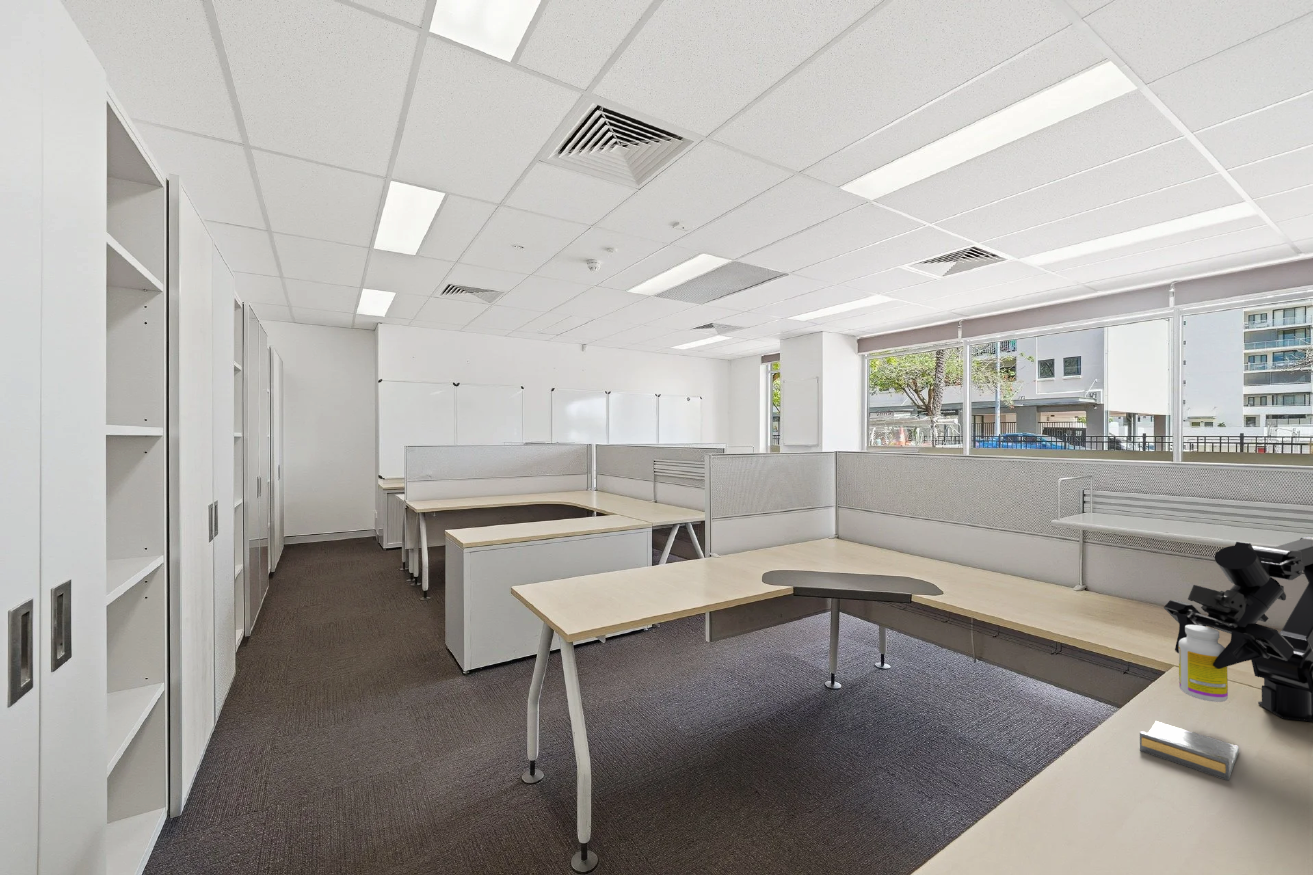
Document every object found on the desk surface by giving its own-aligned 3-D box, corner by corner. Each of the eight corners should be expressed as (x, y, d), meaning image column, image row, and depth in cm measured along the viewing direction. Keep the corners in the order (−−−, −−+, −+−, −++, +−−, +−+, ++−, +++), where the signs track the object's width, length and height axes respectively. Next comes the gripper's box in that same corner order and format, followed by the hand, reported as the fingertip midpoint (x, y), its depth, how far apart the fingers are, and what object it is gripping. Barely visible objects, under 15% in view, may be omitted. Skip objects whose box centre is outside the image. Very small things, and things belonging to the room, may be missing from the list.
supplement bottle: (1238, 704, 101) (1237, 635, 101) (1196, 701, 102) (1195, 633, 102) (1209, 688, 108) (1208, 623, 108) (1170, 685, 109) (1169, 621, 109)
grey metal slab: (1156, 726, 105) (1155, 709, 105) (1238, 751, 97) (1238, 733, 97) (1139, 751, 97) (1139, 733, 97) (1228, 781, 89) (1227, 761, 89)
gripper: (1171, 561, 115) (1122, 615, 114) (1278, 585, 96) (1221, 649, 95) (1206, 597, 115) (1158, 651, 114) (1319, 627, 96) (1263, 692, 96)
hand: (1195, 659), depth 105 cm, fingers closed on supplement bottle, 7 cm apart
